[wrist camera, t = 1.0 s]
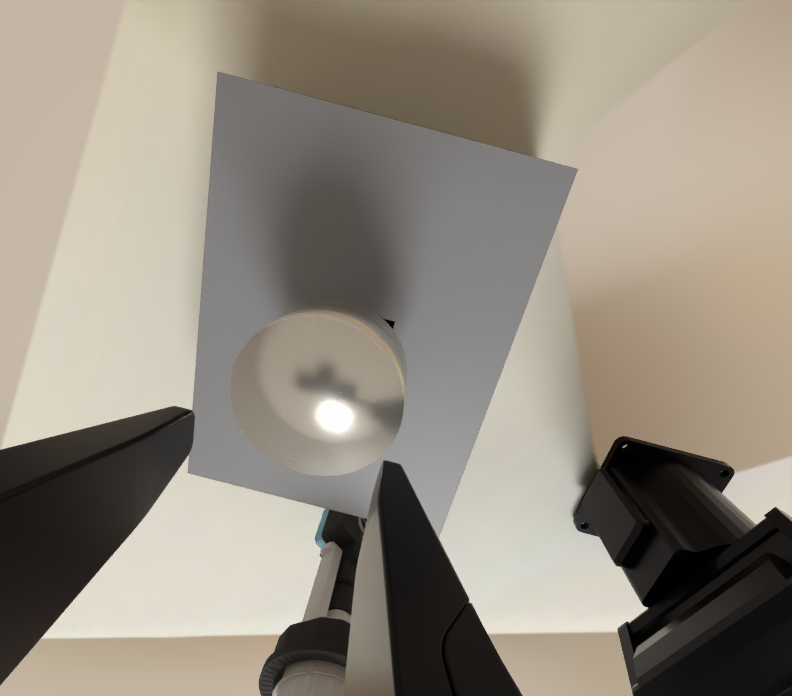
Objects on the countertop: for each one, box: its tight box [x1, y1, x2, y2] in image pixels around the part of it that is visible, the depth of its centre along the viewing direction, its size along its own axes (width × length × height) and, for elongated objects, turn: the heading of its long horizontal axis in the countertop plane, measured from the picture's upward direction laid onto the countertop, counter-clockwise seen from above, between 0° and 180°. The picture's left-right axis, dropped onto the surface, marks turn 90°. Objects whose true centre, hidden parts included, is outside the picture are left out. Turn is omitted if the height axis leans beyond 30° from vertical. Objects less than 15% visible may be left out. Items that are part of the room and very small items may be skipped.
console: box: [188, 72, 578, 537], centre depth 17 cm, size 12×16×5 cm
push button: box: [259, 509, 367, 696], centre depth 19 cm, size 7×5×10 cm
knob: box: [230, 298, 407, 476], centre depth 14 cm, size 5×5×8 cm
